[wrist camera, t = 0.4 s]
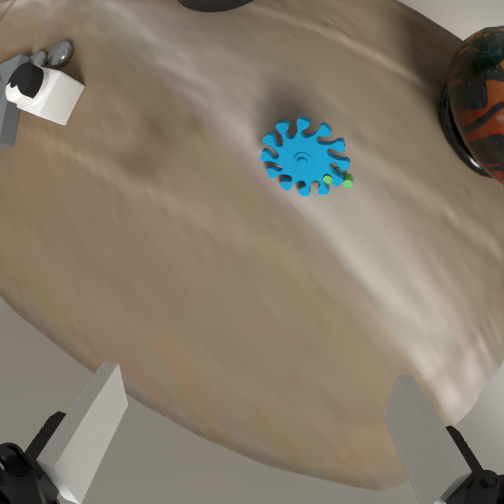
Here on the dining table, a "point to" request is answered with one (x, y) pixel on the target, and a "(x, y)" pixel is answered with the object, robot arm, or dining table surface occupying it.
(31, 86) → the medicine bottle
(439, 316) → the dining table surface
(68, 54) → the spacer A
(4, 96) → the scale
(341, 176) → the gear
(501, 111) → the amphora vase
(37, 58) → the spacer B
